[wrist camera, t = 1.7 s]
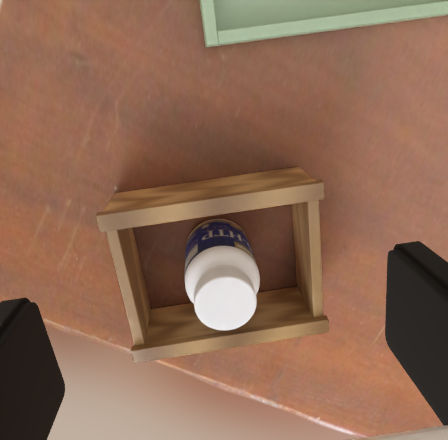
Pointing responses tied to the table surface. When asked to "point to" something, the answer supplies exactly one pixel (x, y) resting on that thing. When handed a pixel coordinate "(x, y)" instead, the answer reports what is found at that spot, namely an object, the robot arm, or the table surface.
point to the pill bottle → (221, 274)
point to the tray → (303, 17)
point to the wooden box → (209, 206)
